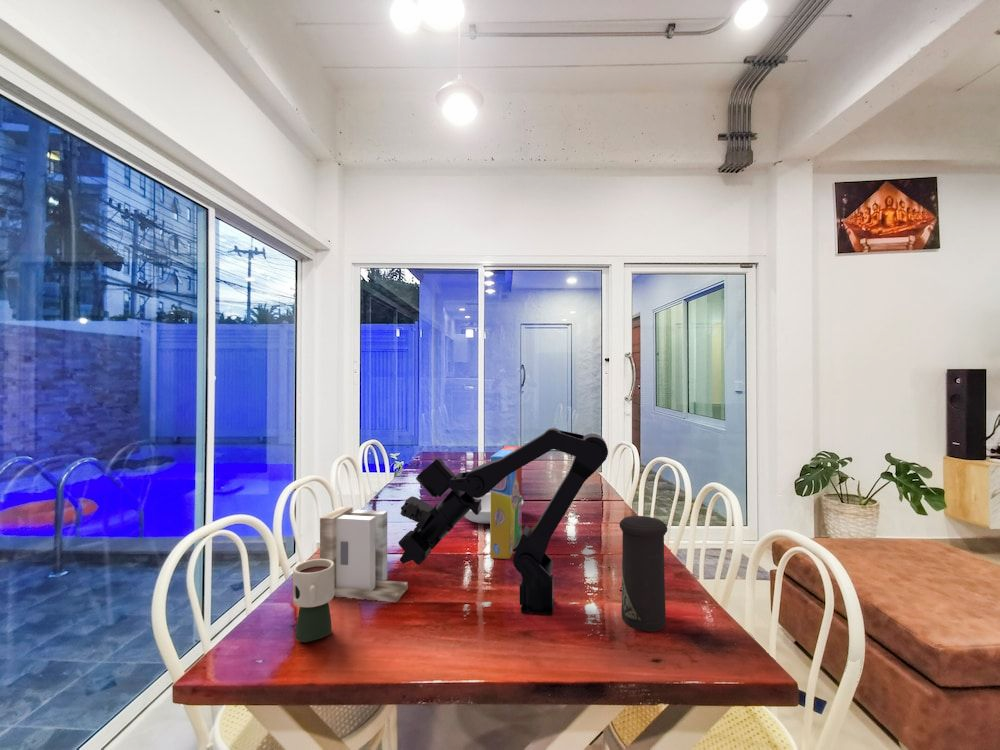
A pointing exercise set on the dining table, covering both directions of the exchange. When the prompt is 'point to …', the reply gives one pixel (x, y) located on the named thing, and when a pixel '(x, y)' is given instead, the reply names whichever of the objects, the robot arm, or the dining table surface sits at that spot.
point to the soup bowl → (482, 511)
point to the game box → (505, 511)
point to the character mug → (313, 598)
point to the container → (643, 573)
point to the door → (355, 552)
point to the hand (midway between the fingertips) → (401, 561)
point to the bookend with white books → (383, 588)
